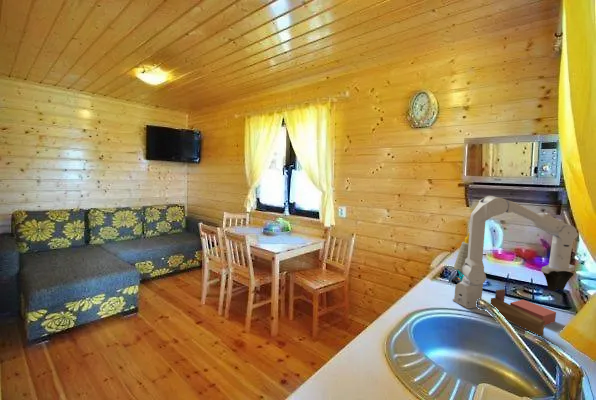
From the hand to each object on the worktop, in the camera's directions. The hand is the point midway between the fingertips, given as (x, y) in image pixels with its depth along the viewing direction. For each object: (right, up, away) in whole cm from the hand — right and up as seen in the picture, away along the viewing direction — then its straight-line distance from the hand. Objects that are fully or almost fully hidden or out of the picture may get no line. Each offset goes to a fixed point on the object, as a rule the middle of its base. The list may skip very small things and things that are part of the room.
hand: (555, 289), depth 114 cm
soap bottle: (-7, -4, +48) cm, 49 cm away
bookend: (-20, -9, +3) cm, 22 cm away
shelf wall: (-20, -10, -7) cm, 24 cm away
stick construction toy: (-19, -6, +30) cm, 36 cm away
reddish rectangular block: (-11, -10, -2) cm, 15 cm away
